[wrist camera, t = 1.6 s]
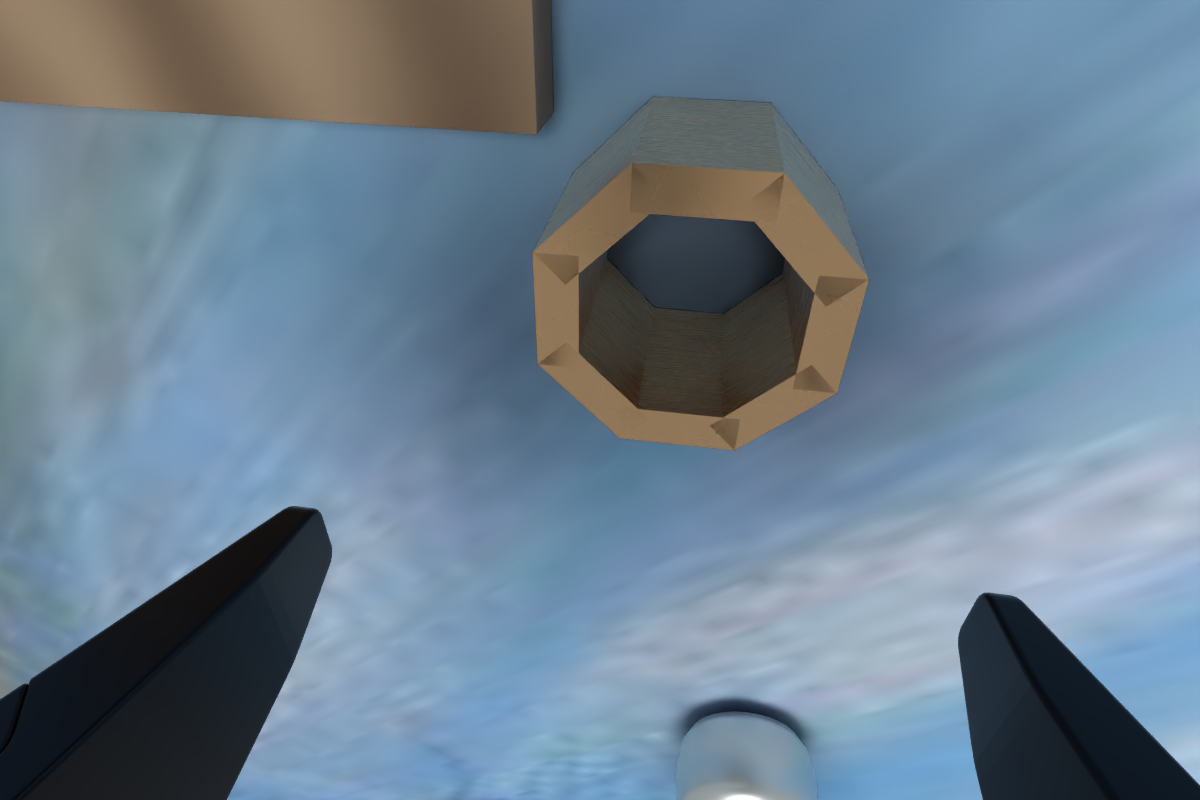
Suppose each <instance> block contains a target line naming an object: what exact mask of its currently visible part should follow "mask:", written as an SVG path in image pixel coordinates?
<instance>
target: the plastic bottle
mask: <svg viewBox="0 0 1200 800" xmlns="http://www.w3.org/2000/svg"><path fill="white" fill-rule="evenodd" d="M675 781H676V795H677V800H818V784H817V781H816V777H815V773H814V769H813V765H812V762H811V758H810V755H809V753H808V750H807V749H806V747H805V746H804V745H803V743H802V742H801V741H800V739H799V738H798V737H797V735H796V734H795V733H794V732H793V731H792V730H791V729H790V728H789V727H788V726H786V725H785V724H783V723H781V722H779V721H777V720H775V719H772V718H770V717H767V716H763V715H760V714H755V713H749V712H736V711H735V712H721V713H715V714H712V715H709V716H706V717H704V718H702V719H700V720H699V721H697V722H696V723H695V724H694V725H693V726H692V728H691V729H690V730H689V732H688V733H687V734H686V735H685V737H684V739H683V740H682V743H681V748H680V752H679V757H678V762H677V766H676V772H675Z"/></svg>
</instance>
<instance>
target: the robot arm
mask: <svg viewBox="0 0 1200 800" xmlns="http://www.w3.org/2000/svg"><path fill="white" fill-rule="evenodd" d="M331 558H332V546H331V543H330V539H329V536H328V533H327V530H326V527H325V524H324V520H323V517H322V515H321V513H320V512H319V511H318V510H317V509H314V508H306V507H298V506H291V507H288V508H285V509H284V510H282V511H281V512H279V513H278V514H276V515H275V516H273V517H272V518H270V519H269V520H267V521H266V522H264V523H263V524H261V525H260V526H258V527H257V528H255V529H254V530H252V531H251V532H249V533H248V534H246V535H245V536H243V537H242V538H240V539H239V540H237V541H236V542H234V543H233V544H231V545H230V546H228V547H227V548H225V549H224V550H222V551H221V552H219V553H218V554H216V555H215V556H213V557H212V558H210V559H209V560H208V561H206V562H205V563H203V564H202V565H200V566H199V567H197V568H196V569H194V570H193V571H191V572H190V573H188V574H187V575H185V576H184V577H182V578H181V579H179V580H178V581H176V582H175V583H173V584H172V585H170V586H169V587H167V588H166V589H164V590H163V591H161V592H160V593H158V594H157V595H155V596H154V597H152V598H151V599H149V600H148V601H146V602H145V603H143V604H142V605H140V606H139V607H137V608H136V609H134V610H133V611H132V612H130V613H129V614H127V615H126V616H124V617H123V618H121V619H120V620H118V621H117V622H115V623H114V624H112V625H111V626H109V627H108V628H106V629H105V630H103V631H102V632H100V633H99V634H97V635H96V636H94V637H93V638H91V639H90V640H88V641H87V642H85V643H84V644H82V645H81V646H79V647H78V648H76V649H75V650H73V651H72V652H70V653H69V654H67V655H66V656H64V657H63V658H61V659H60V660H59V661H57V662H56V663H54V664H53V665H51V666H50V667H48V668H47V669H45V670H44V671H42V672H41V673H39V674H38V675H36V676H35V677H33V678H32V679H31V680H30V682H29V684H22V685H21V686H19V687H18V688H16V689H15V690H13V691H12V692H10V693H9V694H7V695H6V696H5V697H3V698H2V699H0V800H227V798H228V796H229V794H230V792H231V790H232V788H233V786H234V784H235V782H236V780H237V778H238V776H239V774H240V772H241V770H242V768H243V765H244V763H245V761H246V759H247V757H248V755H249V753H250V751H251V749H252V747H253V745H254V743H255V741H256V739H257V737H258V735H259V733H260V731H261V729H262V727H263V725H264V723H265V721H266V719H267V717H268V714H269V712H270V710H271V708H272V706H273V704H274V702H275V700H276V698H277V696H278V694H279V692H280V690H281V688H282V686H283V684H284V682H285V680H286V678H287V676H288V673H289V671H290V669H291V667H292V665H293V663H294V660H295V658H296V655H297V653H298V650H299V648H300V645H301V642H302V640H303V637H304V634H305V631H306V629H307V626H308V623H309V620H310V618H311V615H312V612H313V609H314V607H315V604H316V601H317V598H318V596H319V593H320V590H321V588H322V585H323V582H324V579H325V577H326V574H327V571H328V568H329V566H330V562H331ZM958 649H959V656H960V664H961V671H962V678H963V686H964V693H965V701H966V708H967V716H968V723H969V731H970V738H971V745H972V751H973V758H974V763H975V768H976V772H977V777H978V781H979V785H980V789H981V793H982V797H983V800H1200V785H1199V784H1198V783H1197V782H1196V781H1195V780H1194V779H1193V778H1192V777H1191V776H1190V774H1189V773H1188V772H1187V771H1186V770H1185V769H1184V768H1183V767H1182V766H1181V765H1180V764H1179V763H1178V762H1177V761H1176V760H1175V759H1174V758H1173V757H1172V756H1171V755H1170V754H1169V753H1168V752H1167V751H1166V750H1165V749H1164V748H1163V746H1162V745H1161V744H1160V743H1159V742H1158V741H1157V740H1156V739H1155V738H1154V737H1153V736H1152V735H1151V734H1150V733H1149V732H1148V731H1147V730H1146V729H1145V728H1144V727H1143V726H1142V725H1141V724H1140V723H1139V722H1138V721H1137V720H1136V718H1135V717H1134V716H1133V715H1132V714H1131V713H1130V712H1129V711H1128V710H1127V709H1126V708H1125V707H1124V706H1123V705H1122V704H1121V703H1120V702H1119V701H1118V700H1117V699H1116V698H1115V697H1114V696H1113V695H1112V694H1111V693H1110V692H1109V690H1108V689H1107V688H1106V687H1105V686H1104V685H1103V684H1102V683H1101V682H1100V681H1099V680H1098V679H1097V678H1096V677H1095V676H1094V675H1093V674H1092V673H1091V672H1090V671H1089V670H1088V669H1087V668H1086V667H1085V666H1084V665H1083V664H1082V662H1081V661H1080V660H1079V659H1078V658H1077V657H1076V656H1075V655H1074V654H1073V653H1072V652H1071V651H1070V650H1069V649H1068V648H1067V647H1066V646H1065V645H1064V644H1063V643H1062V642H1061V641H1060V640H1059V639H1058V638H1057V637H1056V636H1055V634H1054V633H1053V632H1052V631H1051V630H1050V629H1049V628H1048V627H1047V626H1046V625H1045V624H1044V623H1043V622H1042V621H1041V620H1040V619H1039V618H1038V617H1037V616H1036V615H1035V614H1034V613H1033V612H1032V611H1031V610H1030V609H1029V608H1028V607H1027V605H1026V604H1025V603H1024V602H1022V601H1021V600H1020V599H1018V598H1017V597H1015V596H1011V595H1003V594H995V593H983V594H982V595H980V596H979V597H978V598H977V600H976V602H975V603H974V605H973V607H972V609H971V611H970V612H969V614H968V616H967V618H966V619H965V621H964V623H963V625H962V627H961V629H960V632H959V637H958Z"/></svg>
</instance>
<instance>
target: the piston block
mask: <svg viewBox="0 0 1200 800" xmlns="http://www.w3.org/2000/svg"><path fill="white" fill-rule="evenodd" d="M0 101H5V102H21V103H37V104H53V105H69V106H85V107H101V108H117V109H133V110H149V111H165V112H181V113H197V114H213V115H230V116H246V117H262V118H278V119H294V120H310V121H326V122H342V123H358V124H374V125H390V126H406V127H422V128H438V129H454V130H470V131H486V132H502V133H518V134H534V135H537V134H538V133H539V131H540V130H541V128H542V127H543V126H544V124H545V123H546V121H547V120H548V119H549V117H550V116H551V114H552V113H553V112H554V103H553V60H552V16H551V0H0Z"/></svg>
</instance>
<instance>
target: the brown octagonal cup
mask: <svg viewBox="0 0 1200 800" xmlns="http://www.w3.org/2000/svg"><path fill="white" fill-rule="evenodd" d="M650 214H658V215H672V216H685V217H699V218H713V219H726V220H740V221H754V222H755V223H756V224H757V225H758V226H759V228H760V229H761V230H762V231H763V232H764V234H765V235H766V236H767V237H768V238H769V239H770V241H771V242H772V243H773V244H774V245H775V247H776V248H777V249H778V250H779V251H780V253H781V254H782V255H783V256H784V257H785V262H784V267H783V272H782V274H781V275H779V276H778V277H776V278H775V279H773V280H772V281H771V282H769V283H768V284H766V285H765V286H763V287H762V288H760V289H759V290H757V291H756V292H755V293H753V294H752V295H750V296H749V297H747V298H746V299H744V300H743V301H741V302H740V303H739V304H737V305H736V306H734V307H733V308H731V309H730V310H728V311H727V312H726V313H724V314H721V313H709V312H698V311H687V310H675V309H664V308H654V307H653V306H652V305H651V304H650V302H649V301H648V300H647V299H646V298H645V297H644V296H643V295H642V294H641V293H640V292H639V291H638V290H637V289H636V288H635V287H634V286H633V285H632V284H631V283H630V282H629V281H628V280H627V279H626V278H625V277H624V276H623V275H622V274H621V273H620V272H619V271H618V270H617V268H616V267H615V266H614V265H613V264H612V263H611V262H610V261H609V260H608V249H609V248H610V247H611V246H612V245H614V244H615V243H616V242H617V241H618V240H620V239H621V238H622V237H623V236H624V235H626V234H627V233H628V232H629V231H630V230H632V229H633V228H634V227H635V226H636V225H638V224H639V223H640V222H641V221H642V220H644V219H645V218H646V217H647V216H648V215H650ZM533 274H534V296H535V317H536V339H537V361H538V365H539V366H540V367H541V368H543V369H544V370H545V371H546V372H547V373H548V374H549V375H550V376H551V377H553V378H554V379H555V380H556V381H557V382H558V383H559V384H560V385H561V386H563V387H564V388H565V389H566V390H567V391H568V392H569V393H570V394H571V395H572V396H574V397H575V398H576V399H577V400H578V401H579V402H580V403H581V404H582V405H584V406H585V407H586V408H587V409H588V410H589V411H590V412H591V413H592V414H593V415H595V416H596V417H597V418H598V419H599V420H600V421H601V422H602V423H603V424H605V425H606V426H607V427H608V428H609V429H610V430H611V431H612V432H613V433H615V434H616V435H617V436H618V437H619V438H623V439H632V440H642V441H651V442H660V443H669V444H679V445H688V446H697V447H707V448H716V449H725V450H736V449H738V448H740V447H742V446H744V445H745V444H747V443H749V442H751V441H753V440H754V439H756V438H758V437H760V436H761V435H763V434H765V433H767V432H769V431H770V430H772V429H774V428H776V427H778V426H779V425H781V424H783V423H785V422H787V421H788V420H790V419H792V418H794V417H795V416H797V415H799V414H801V413H803V412H804V411H806V410H808V409H810V408H812V407H813V406H815V405H817V404H819V403H820V402H822V401H824V400H826V399H828V398H829V397H831V396H833V395H835V394H837V392H838V388H839V385H840V381H841V378H842V374H843V371H844V367H845V363H846V360H847V356H848V353H849V349H850V346H851V342H852V339H853V335H854V331H855V328H856V324H857V321H858V317H859V314H860V310H861V307H862V303H863V300H864V296H865V292H866V289H867V285H868V282H869V278H868V275H867V272H866V269H865V266H864V263H863V260H862V257H861V255H860V252H859V249H858V246H857V243H856V240H855V237H854V234H853V232H852V229H851V226H850V223H849V220H848V217H847V214H846V211H845V208H844V206H843V203H842V200H841V197H840V194H839V191H838V189H837V188H836V187H835V185H834V184H833V183H832V182H831V180H830V179H829V178H828V176H827V175H826V174H825V172H824V171H823V170H822V168H821V167H820V166H819V165H818V163H817V162H816V161H815V159H814V158H813V157H812V155H811V154H810V153H809V151H808V150H807V149H806V148H805V146H804V145H803V144H802V142H801V141H800V140H799V138H798V137H797V136H796V134H795V133H794V132H793V130H792V129H791V128H790V127H789V125H788V124H787V123H786V121H785V120H784V119H783V117H782V116H781V115H780V113H779V112H778V111H777V110H776V108H775V107H774V106H773V104H772V103H765V102H747V101H729V100H711V99H693V98H675V97H657V96H653V97H652V98H651V99H650V100H649V101H648V102H647V103H646V104H645V105H644V106H643V107H642V108H641V109H640V110H639V111H638V112H636V113H635V114H634V115H633V116H632V117H631V118H630V119H629V120H628V121H627V122H626V123H625V124H624V125H623V126H622V127H621V128H620V129H618V130H617V131H616V132H615V133H614V134H613V135H612V136H611V137H610V138H609V139H608V140H607V141H606V142H605V143H604V144H603V145H602V146H601V147H599V148H598V149H597V150H596V151H595V152H594V153H593V154H592V155H591V156H590V157H589V158H588V159H587V160H586V161H585V162H584V163H583V164H581V165H580V166H579V167H578V168H577V169H576V170H575V171H574V172H573V174H572V176H571V178H570V180H569V182H568V184H567V186H566V187H565V189H564V191H563V193H562V195H561V197H560V199H559V201H558V203H557V205H556V207H555V209H554V211H553V213H552V215H551V217H550V219H549V221H548V223H547V225H546V227H545V229H544V231H543V233H542V235H541V237H540V239H539V241H538V243H537V245H536V247H535V248H534V250H533Z"/></svg>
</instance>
